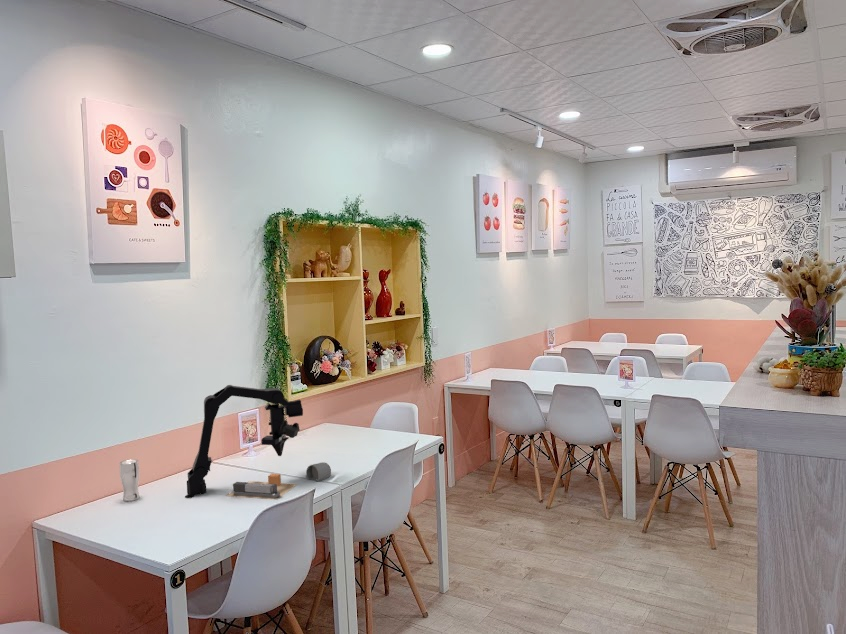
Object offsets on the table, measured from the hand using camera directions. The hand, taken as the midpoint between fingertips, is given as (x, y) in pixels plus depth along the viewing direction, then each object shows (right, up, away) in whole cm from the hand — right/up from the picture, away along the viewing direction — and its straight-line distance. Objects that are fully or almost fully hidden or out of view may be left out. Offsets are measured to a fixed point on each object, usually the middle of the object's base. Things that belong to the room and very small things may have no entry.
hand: (280, 455), depth 269 cm
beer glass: (-56, -14, -13) cm, 59 cm away
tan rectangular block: (-1, -11, -5) cm, 12 cm away
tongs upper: (-7, -10, -17) cm, 21 cm away
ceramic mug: (+15, -11, +3) cm, 19 cm away
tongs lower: (-5, -12, -17) cm, 21 cm away
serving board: (-5, -13, -10) cm, 17 cm away
